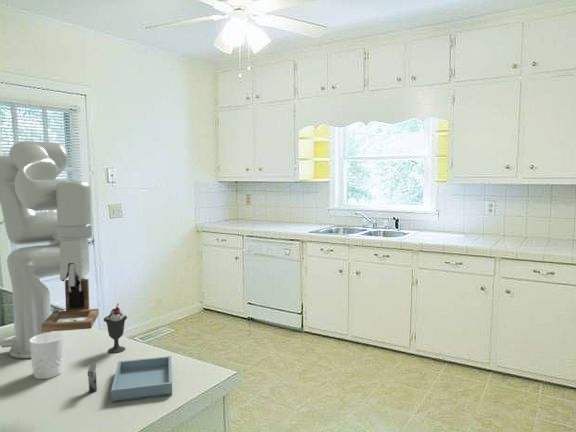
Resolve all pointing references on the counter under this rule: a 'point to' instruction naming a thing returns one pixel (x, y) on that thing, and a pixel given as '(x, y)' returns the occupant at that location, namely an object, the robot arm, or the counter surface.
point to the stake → (92, 377)
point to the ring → (72, 313)
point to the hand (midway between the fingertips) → (78, 305)
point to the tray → (142, 379)
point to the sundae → (116, 328)
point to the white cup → (47, 355)
